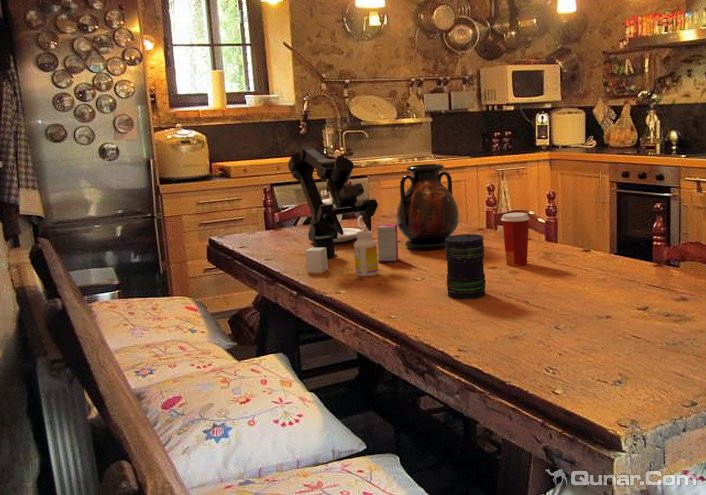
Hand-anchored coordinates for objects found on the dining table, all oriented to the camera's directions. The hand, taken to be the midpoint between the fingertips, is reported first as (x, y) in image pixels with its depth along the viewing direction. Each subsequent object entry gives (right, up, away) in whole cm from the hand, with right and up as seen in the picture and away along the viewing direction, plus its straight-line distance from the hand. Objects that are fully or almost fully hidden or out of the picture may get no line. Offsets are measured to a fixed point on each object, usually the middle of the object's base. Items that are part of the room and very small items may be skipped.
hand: (356, 232), depth 230 cm
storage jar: (+28, -17, -34) cm, 47 cm away
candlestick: (-5, -2, +59) cm, 59 cm away
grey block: (-12, -12, +7) cm, 18 cm away
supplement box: (+10, -9, +15) cm, 21 cm away
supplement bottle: (+3, -13, -3) cm, 14 cm away
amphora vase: (+25, -4, +35) cm, 43 cm away
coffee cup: (+48, -10, -2) cm, 49 cm away
